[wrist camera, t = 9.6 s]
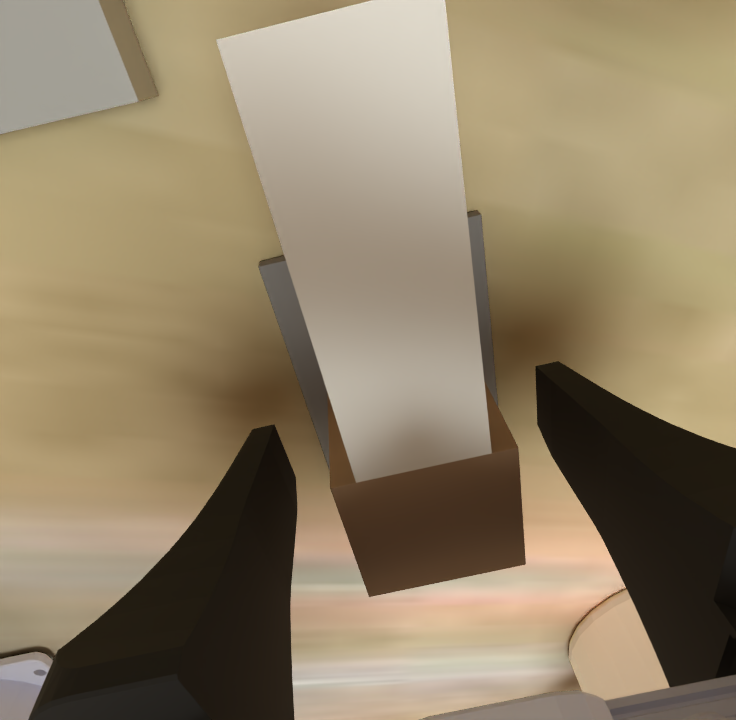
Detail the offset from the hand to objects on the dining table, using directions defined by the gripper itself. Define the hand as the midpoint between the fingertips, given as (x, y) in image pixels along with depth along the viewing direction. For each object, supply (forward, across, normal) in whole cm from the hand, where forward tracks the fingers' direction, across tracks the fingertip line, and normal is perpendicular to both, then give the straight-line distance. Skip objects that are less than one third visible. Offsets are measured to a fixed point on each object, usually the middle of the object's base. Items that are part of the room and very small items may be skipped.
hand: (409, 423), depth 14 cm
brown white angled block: (+2, 0, -4) cm, 4 cm away
